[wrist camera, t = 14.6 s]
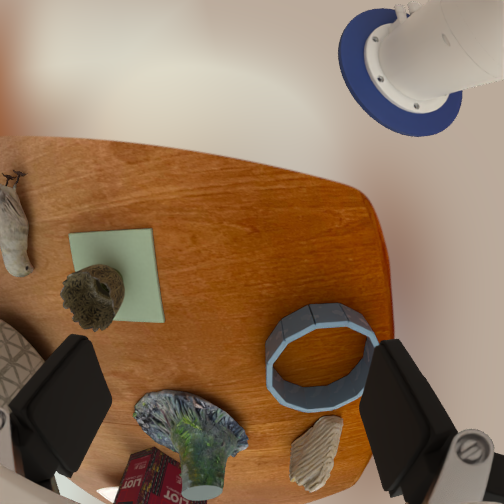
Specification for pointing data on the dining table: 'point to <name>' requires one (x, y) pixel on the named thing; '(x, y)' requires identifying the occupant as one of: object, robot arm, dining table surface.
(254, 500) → the dining table surface
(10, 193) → the decorative bird
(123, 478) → the box
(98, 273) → the cup
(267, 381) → the ring
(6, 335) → the planter
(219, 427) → the tree stump
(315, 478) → the fossil tooth
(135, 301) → the mat
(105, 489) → the bowl
